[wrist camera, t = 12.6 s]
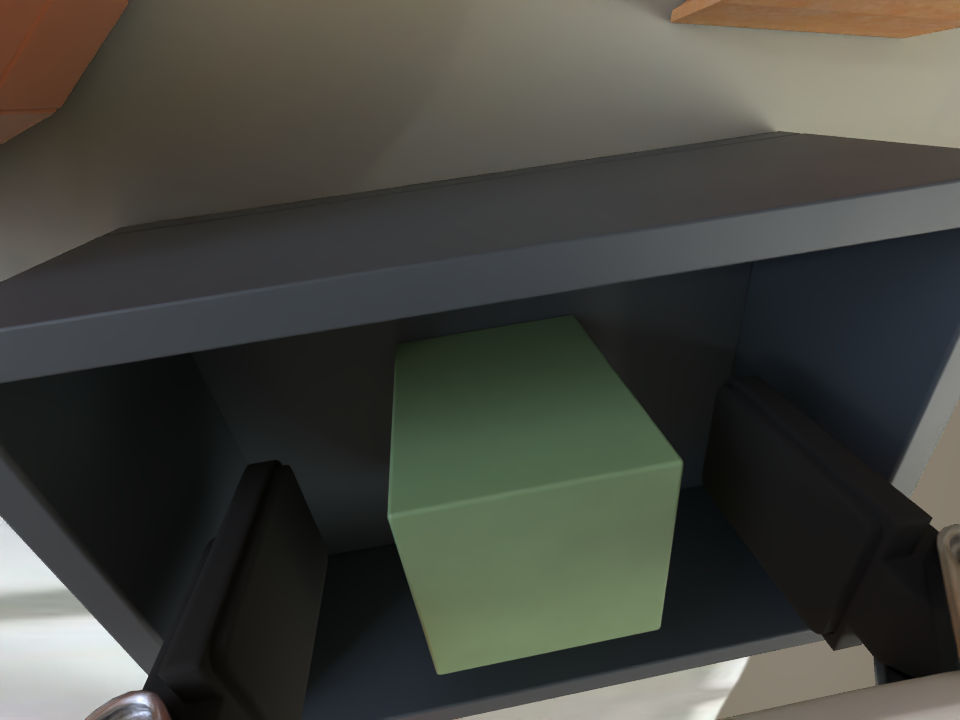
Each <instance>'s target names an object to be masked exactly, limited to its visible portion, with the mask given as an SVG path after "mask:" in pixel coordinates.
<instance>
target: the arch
mask: <svg viewBox="0 0 960 720" xmlns="http://www.w3.org/2000/svg"><path fill="white" fill-rule="evenodd" d="M670 22H672V23H686V24H701V25H716V26H730V27H745V28H760V29H774V30H789V31H804V32H818V33H833V34H848V35H862V36H877V37H892V38H906V37H911V36H917V35H922V34H927V33H932V32H937V31H943V30H948V29H953V28H958V27H960V0H687V1H685V2H684V3H683V4H682V5H680V6H679V7H677V8H675V9H673V10H672V15H671V20H670Z"/></svg>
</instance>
